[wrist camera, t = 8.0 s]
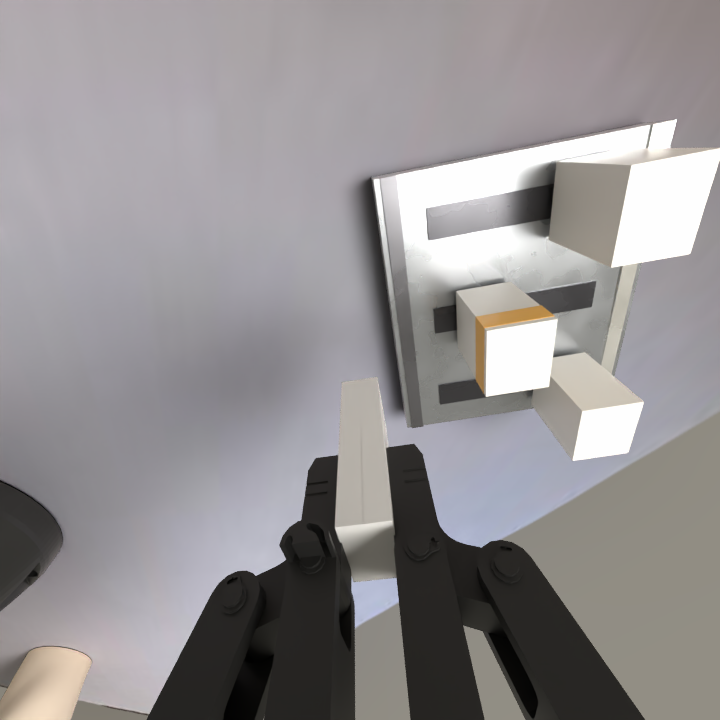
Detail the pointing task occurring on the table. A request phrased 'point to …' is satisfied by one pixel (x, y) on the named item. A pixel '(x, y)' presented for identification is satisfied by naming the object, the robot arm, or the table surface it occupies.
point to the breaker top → (631, 203)
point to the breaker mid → (505, 338)
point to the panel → (493, 265)
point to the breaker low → (587, 408)
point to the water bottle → (46, 685)
